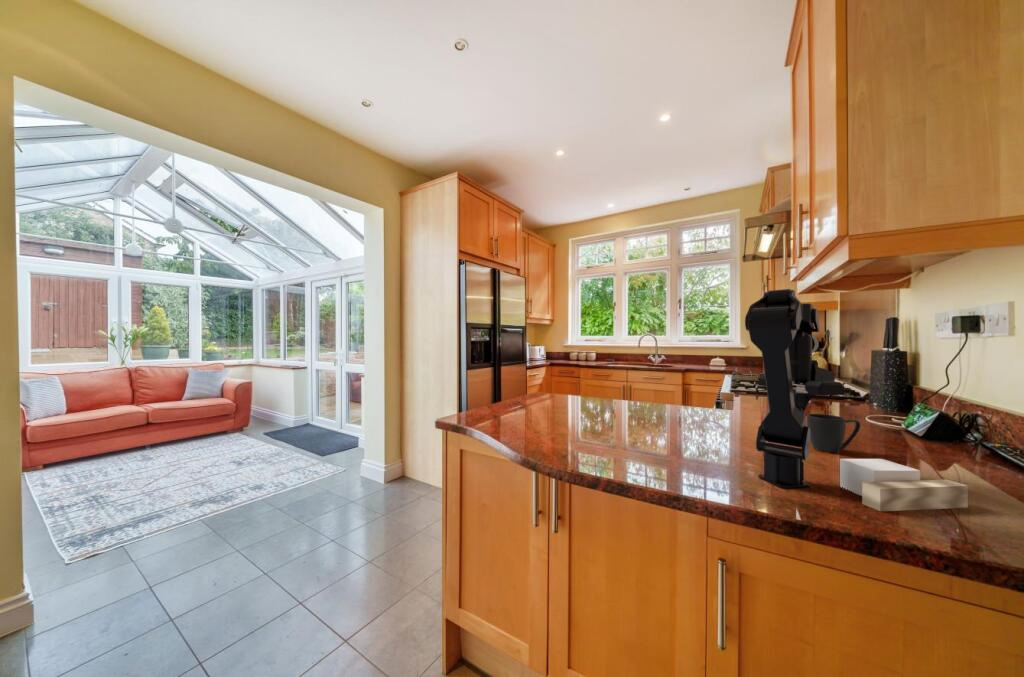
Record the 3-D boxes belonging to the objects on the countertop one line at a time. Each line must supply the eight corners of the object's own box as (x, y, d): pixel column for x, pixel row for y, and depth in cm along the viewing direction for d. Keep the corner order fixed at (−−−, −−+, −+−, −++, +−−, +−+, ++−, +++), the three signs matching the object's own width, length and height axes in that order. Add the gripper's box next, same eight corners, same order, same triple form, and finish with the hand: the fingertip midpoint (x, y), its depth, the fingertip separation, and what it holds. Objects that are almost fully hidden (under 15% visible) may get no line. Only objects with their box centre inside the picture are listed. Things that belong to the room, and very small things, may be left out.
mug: (870, 457, 95) (870, 421, 95) (816, 453, 98) (816, 418, 99) (850, 448, 103) (850, 415, 103) (801, 445, 106) (801, 412, 107)
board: (880, 511, 64) (880, 488, 64) (862, 503, 67) (862, 482, 67) (967, 507, 66) (967, 485, 66) (946, 500, 69) (946, 479, 69)
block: (874, 502, 69) (874, 470, 69) (840, 487, 76) (839, 458, 76) (920, 502, 69) (920, 470, 69) (882, 487, 76) (881, 458, 76)
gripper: (867, 357, 80) (867, 427, 80) (795, 354, 98) (795, 411, 98) (820, 357, 79) (820, 428, 79) (756, 354, 98) (756, 411, 97)
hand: (797, 419), depth 88 cm, fingers closed
